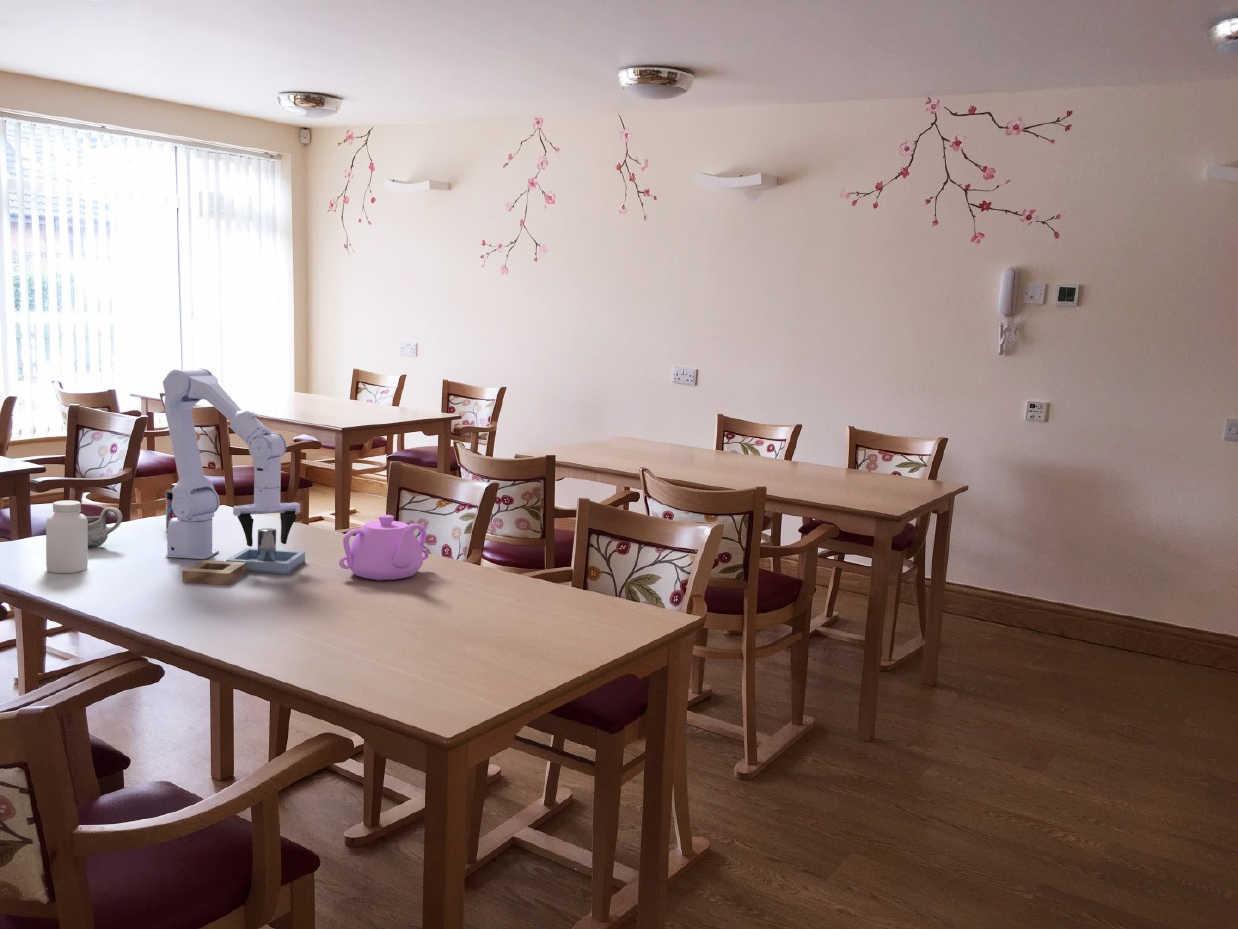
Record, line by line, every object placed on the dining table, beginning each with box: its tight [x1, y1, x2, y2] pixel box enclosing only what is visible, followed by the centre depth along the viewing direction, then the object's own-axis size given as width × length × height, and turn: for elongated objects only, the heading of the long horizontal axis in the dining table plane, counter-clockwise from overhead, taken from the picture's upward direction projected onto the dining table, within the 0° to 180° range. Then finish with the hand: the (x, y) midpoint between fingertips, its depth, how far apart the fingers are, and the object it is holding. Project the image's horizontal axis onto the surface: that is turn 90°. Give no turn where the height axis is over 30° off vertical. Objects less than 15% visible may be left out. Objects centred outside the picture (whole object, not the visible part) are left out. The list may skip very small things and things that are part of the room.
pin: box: [257, 527, 277, 562], centre depth 231 cm, size 4×4×8 cm
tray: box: [225, 547, 306, 576], centre depth 232 cm, size 14×12×2 cm
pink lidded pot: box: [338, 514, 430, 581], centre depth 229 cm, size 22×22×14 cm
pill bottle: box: [45, 499, 89, 574], centre depth 218 cm, size 8×8×15 cm
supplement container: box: [165, 488, 195, 530], centre depth 262 cm, size 7×7×10 cm
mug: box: [86, 506, 123, 550], centre depth 238 cm, size 10×12×10 cm
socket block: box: [181, 559, 247, 586], centre depth 220 cm, size 10×10×2 cm
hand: (266, 544), depth 231 cm, fingers open, 7 cm apart
